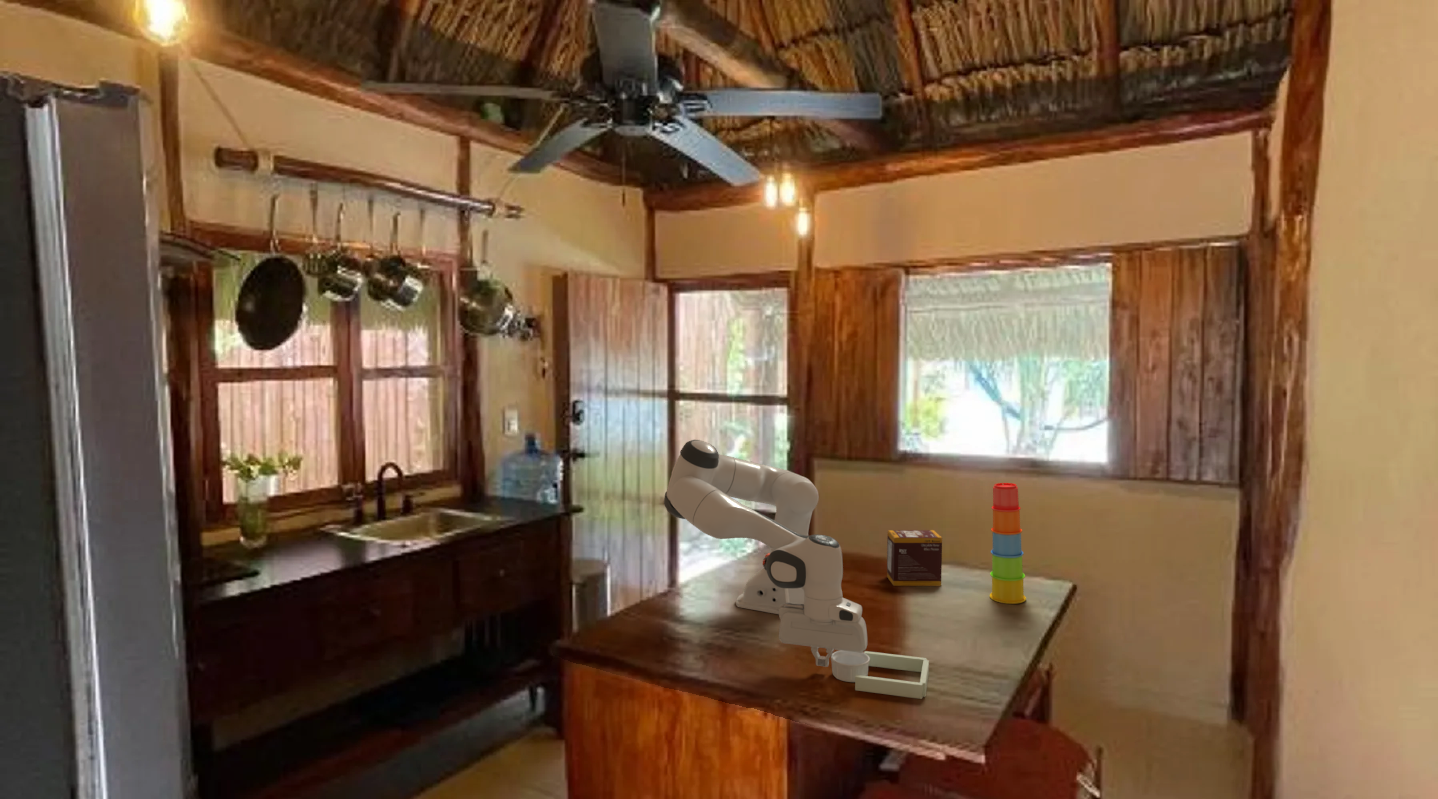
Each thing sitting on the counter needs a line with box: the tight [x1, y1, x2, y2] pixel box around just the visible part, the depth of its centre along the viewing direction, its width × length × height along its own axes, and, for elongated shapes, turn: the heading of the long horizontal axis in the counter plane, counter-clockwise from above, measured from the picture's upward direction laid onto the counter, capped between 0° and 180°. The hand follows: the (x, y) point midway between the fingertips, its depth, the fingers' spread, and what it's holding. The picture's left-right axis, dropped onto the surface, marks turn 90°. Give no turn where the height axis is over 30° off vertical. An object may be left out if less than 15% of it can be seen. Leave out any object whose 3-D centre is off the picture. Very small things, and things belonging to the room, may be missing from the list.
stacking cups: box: [989, 482, 1027, 605], centre depth 232 cm, size 10×10×35 cm
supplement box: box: [886, 529, 943, 587], centre depth 251 cm, size 10×15×16 cm
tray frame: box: [854, 650, 930, 700], centre depth 176 cm, size 15×15×3 cm
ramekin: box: [830, 650, 870, 683], centre depth 179 cm, size 9×9×4 cm
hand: (822, 665), depth 181 cm, fingers closed
